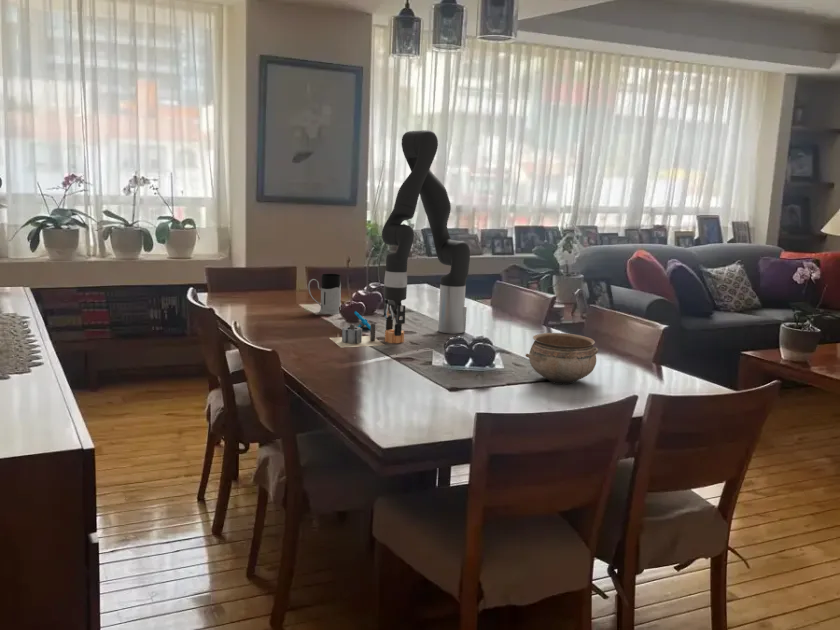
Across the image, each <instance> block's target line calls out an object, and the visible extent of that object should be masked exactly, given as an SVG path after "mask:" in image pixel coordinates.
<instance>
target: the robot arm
mask: <svg viewBox="0 0 840 630" xmlns="http://www.w3.org/2000/svg"><path fill="white" fill-rule="evenodd" d="M438 146H439V140H438V137H437V135H436V133H435V132H434V131H432V130H430V129H429V130H427V129H426V130H422V129H421V130H410V131H409V130H408V131H406V132H405V133H404V134H403V135H402V137H401V148H402V149H401V150H402V152H403V155H404V158H405V160H406V162H407V164H408V167H409V169H410V173H409V175H407V177H406V178H405V180H404V181H403V182H402V184H401V185H400V187H399V189H398V191H397V194H396V198H395V203H394V205H393V206H394V207H393V209H392V211H391V213H390V214H389V216H388V218H387V220H386V222H385V223H384V225H383V227H382V232H381V237H382V241H383V242H384V244H386V245H388V246H389V245H390V246H396V247H397V250H396V251H395V252H390V253H387V255H386V257H385V274H384V281H383V282H384V283H383V298H384V305H383V317H384V319H385V321H386V322H385V330H390V329H393V328H394V335H395V336H401V331H403V330H402V329H403V326H402V325H404V324H405V323H406V305H404V304H403V305H402V301H405V300H406V299H407V293H408V292H407V291H408V271H407V270H408V260H409V256H410V253H411V249H412V246H413V243H414V240H415V234H414V233H415V232H414V230H413V228H412V227H411V226H410V225H408V224H402V223H403V222H405V221H407V220H408V221H409V220H412V219H413V218H414V216H415V212H416V208H417V204H418V200H419V197H420V199H421V204H422V206H423V209H424V212H425V215H426V218H427V220H428V225H429V228H430V231H431V235H432V238H433V244H434V249H435V253H436V257H437V259H438V261H439V263H440V264H442V265H444V266H448V267H449V266H450V270H449V271H450V272H448V273H447V274H444V275H442V276H441V277H440V282H439V283H440V284H439V304H438V321H437V322H438V323H437V325H438V326H437V332H440V333H444V334H462V333H466V326H467V325H466V324H467V309H468V307H467V306H466V305H465V303H466V285H467V284H466V283H467V279H468V276H469V269H470V258H471V251H470V249H471V248H470V247H469V245H468V243H467V242H465V241H462V240H455V239H452V238H451V236H450V233H449V229H448V221H449V218H450V215H451V211H452V210H451V209H452V207H451V206H452V205H451V202H450V198H449V194H448V192H447V189H446V187H445V186H444V184H443V182H442V181H441V180H439V178H438V177H437V176H436V175H435V174H434V173H433V172H432V170H431V166H432V165H433V162H434V159H435V157H436V155H437V151H438ZM393 324H394V325H393Z"/></svg>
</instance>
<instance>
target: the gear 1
mask: <svg viewBox="0 0 840 630" xmlns="http://www.w3.org/2000/svg"><path fill="white" fill-rule="evenodd" d="M362 336H363V327H358V326H355V329H354V330H353V329H350V326H344V327H342V328H341V337H342V342H343V343H349V344H355V343H356V344H358V343H360V342H362Z"/></svg>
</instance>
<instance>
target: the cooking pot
mask: <svg viewBox="0 0 840 630" xmlns="http://www.w3.org/2000/svg"><path fill="white" fill-rule="evenodd" d="M532 339H533V340H534V341H533V343H532V345H531V347H530V350H529V353H525V355H524V356H525V357H526V358H528V360H529V362H530V363H529V364H530V366H531V367H532V369H533V370H534V371H535V372H536V373H538V374H539V375H540V376H542V377H543V378H545V379H547V380H548V381H549V382H550V383H553V384H557V385H570V384H572V383H575V382H577V381H580V380H582V379H584V378H585V377H587V376H589V375H590V374H591V373H592V372H593V370H594V369H595V367H596V365H597V354H598V353H599V348H598V347H594V345H595V344H596V341H595V340H594V339H593V338H590V337H587V336H584V335H580V334H573V333H567V332H566V333H564V332H545V333H538V334H535V335H533V336H532Z"/></svg>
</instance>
